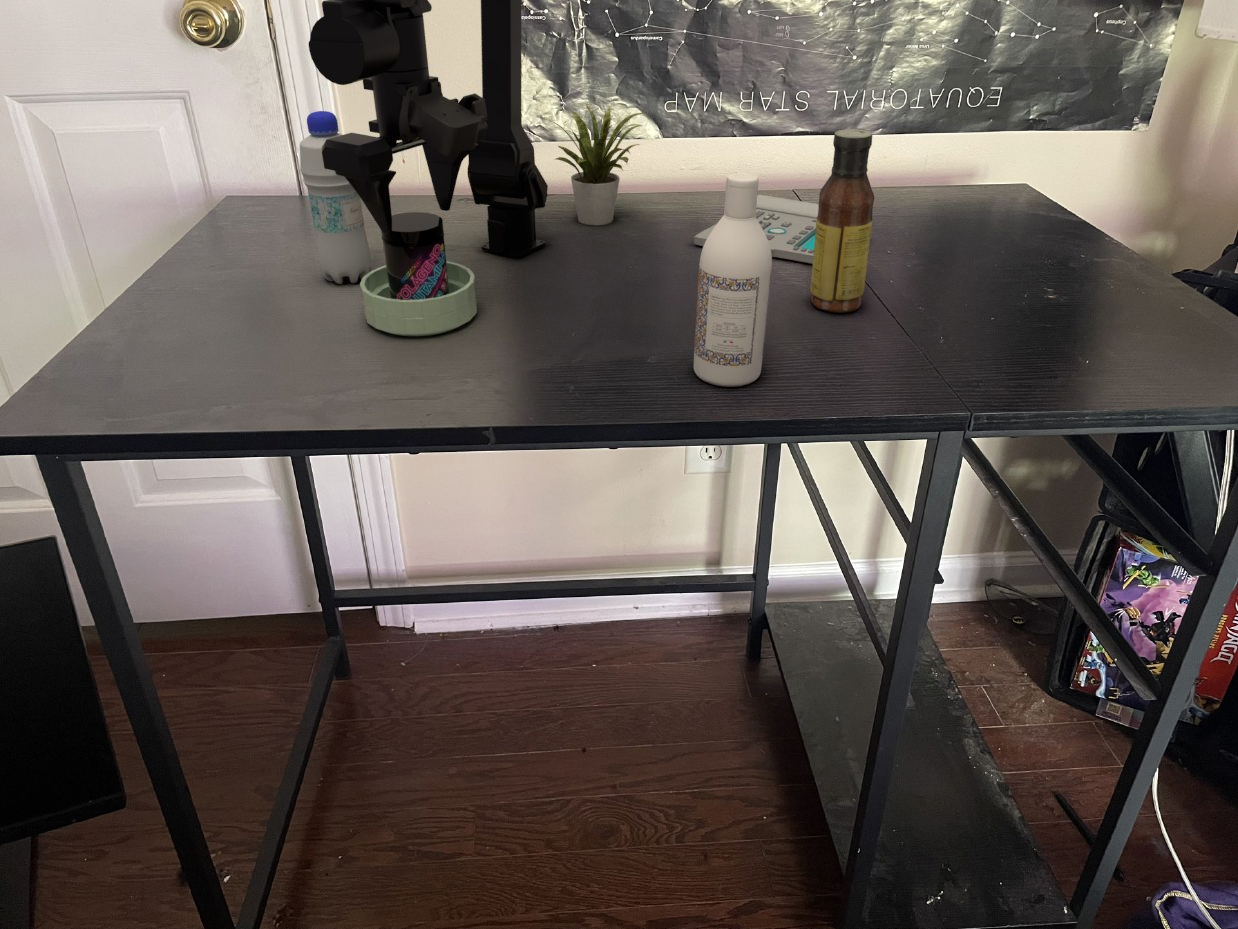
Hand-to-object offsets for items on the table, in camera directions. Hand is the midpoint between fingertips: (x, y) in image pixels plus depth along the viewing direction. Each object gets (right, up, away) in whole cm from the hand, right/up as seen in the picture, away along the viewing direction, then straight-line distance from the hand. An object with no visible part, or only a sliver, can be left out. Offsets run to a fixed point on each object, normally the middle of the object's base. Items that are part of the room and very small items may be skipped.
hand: (417, 221), depth 98 cm
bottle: (-12, -3, +16) cm, 20 cm away
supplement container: (-1, -9, +6) cm, 11 cm away
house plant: (+20, +10, +36) cm, 42 cm away
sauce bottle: (+48, -8, +10) cm, 49 cm away
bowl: (-1, -9, +6) cm, 11 cm away
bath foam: (+33, -17, -6) cm, 38 cm away
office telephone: (+47, +6, +31) cm, 56 cm away
